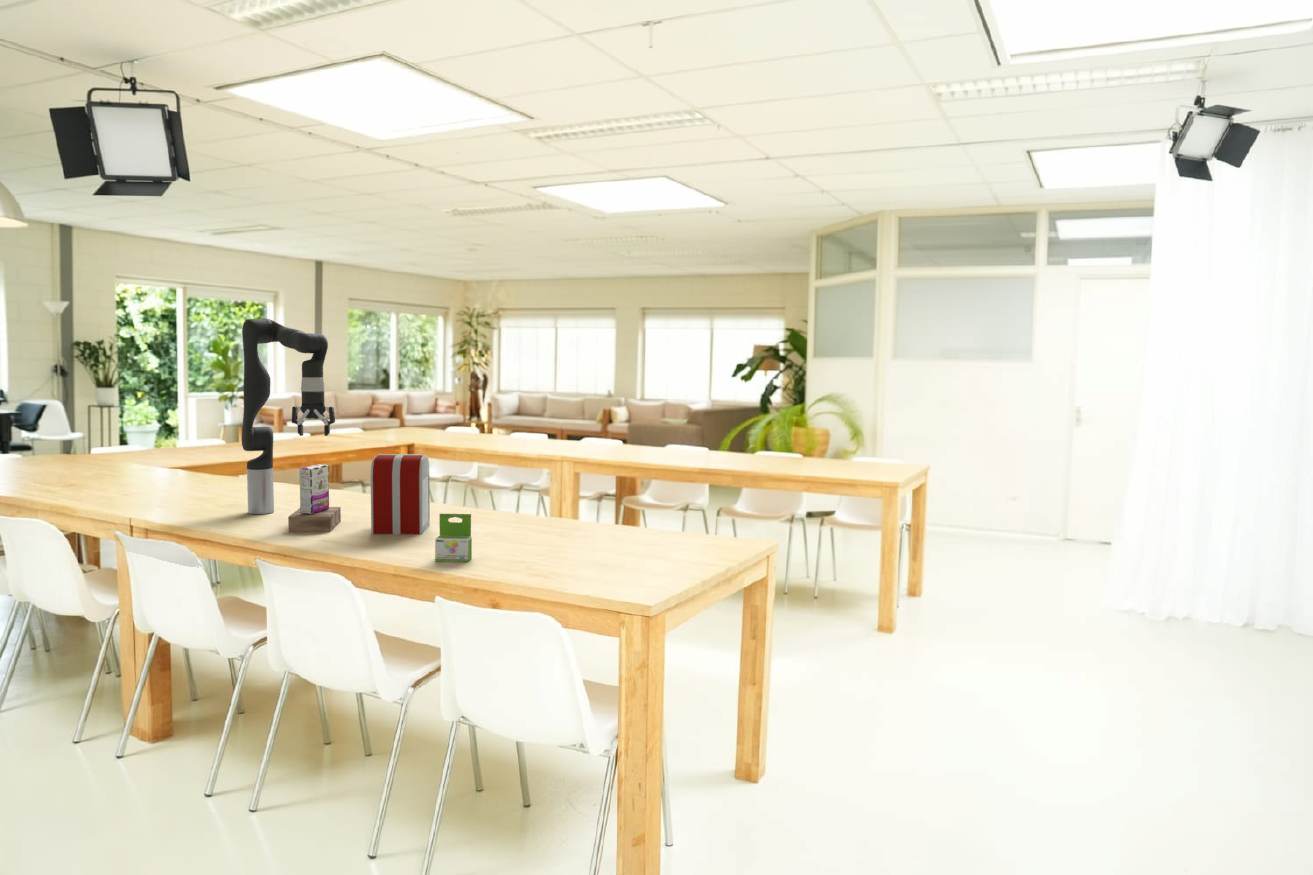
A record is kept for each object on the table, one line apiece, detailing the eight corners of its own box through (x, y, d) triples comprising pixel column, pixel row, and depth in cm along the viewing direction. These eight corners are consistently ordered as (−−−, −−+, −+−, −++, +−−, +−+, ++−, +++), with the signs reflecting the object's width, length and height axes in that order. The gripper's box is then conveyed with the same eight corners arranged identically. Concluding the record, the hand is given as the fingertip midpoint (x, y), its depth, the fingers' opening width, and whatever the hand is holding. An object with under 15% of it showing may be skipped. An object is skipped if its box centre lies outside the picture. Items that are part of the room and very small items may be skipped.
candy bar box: (317, 508, 317) (317, 463, 316) (329, 509, 316) (329, 464, 315) (298, 513, 306) (298, 467, 305) (311, 514, 305) (311, 468, 304)
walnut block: (301, 523, 320) (300, 507, 319) (340, 522, 322) (340, 506, 321) (288, 533, 302) (288, 516, 301) (330, 533, 304) (330, 516, 304)
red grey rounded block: (381, 524, 318) (380, 451, 315) (430, 524, 319) (429, 452, 317) (370, 534, 301) (369, 457, 299) (422, 534, 303) (421, 457, 300)
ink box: (434, 561, 265) (434, 516, 263) (438, 557, 270) (438, 513, 269) (468, 562, 265) (468, 517, 263) (472, 558, 270) (471, 513, 269)
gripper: (336, 389, 312) (337, 434, 313) (295, 389, 310) (296, 434, 312) (330, 390, 304) (331, 436, 306) (288, 390, 303) (289, 436, 304)
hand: (313, 435), depth 309 cm, fingers open, 8 cm apart
